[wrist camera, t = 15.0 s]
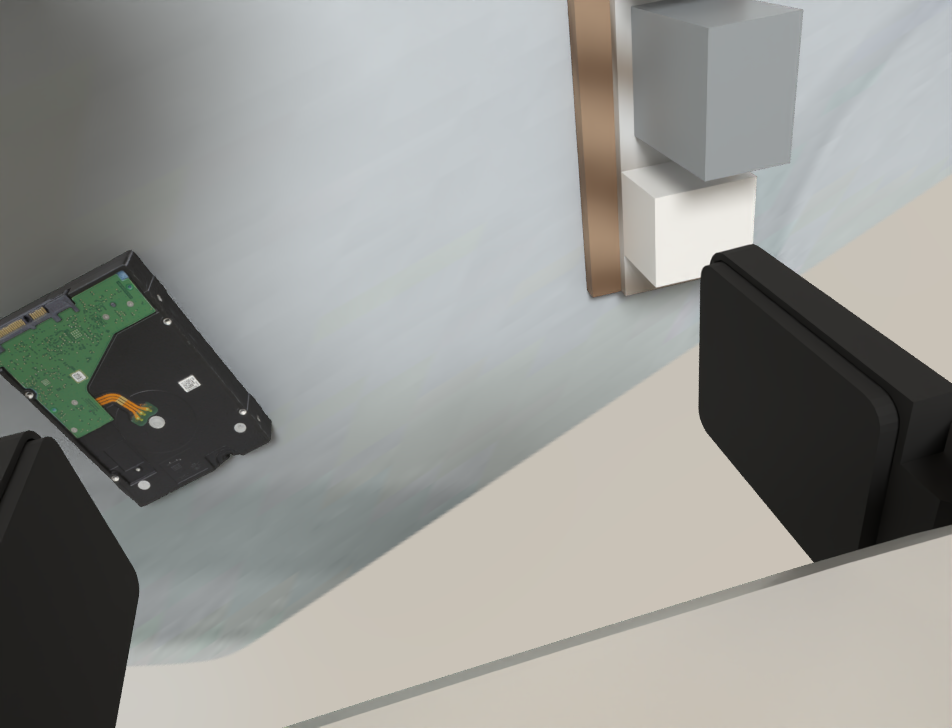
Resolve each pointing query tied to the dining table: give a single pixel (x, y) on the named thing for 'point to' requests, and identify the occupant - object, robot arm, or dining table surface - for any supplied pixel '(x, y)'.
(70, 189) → the dining table surface
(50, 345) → the disk drive
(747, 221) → the block
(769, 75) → the block
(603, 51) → the rail board
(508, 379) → the dining table surface
